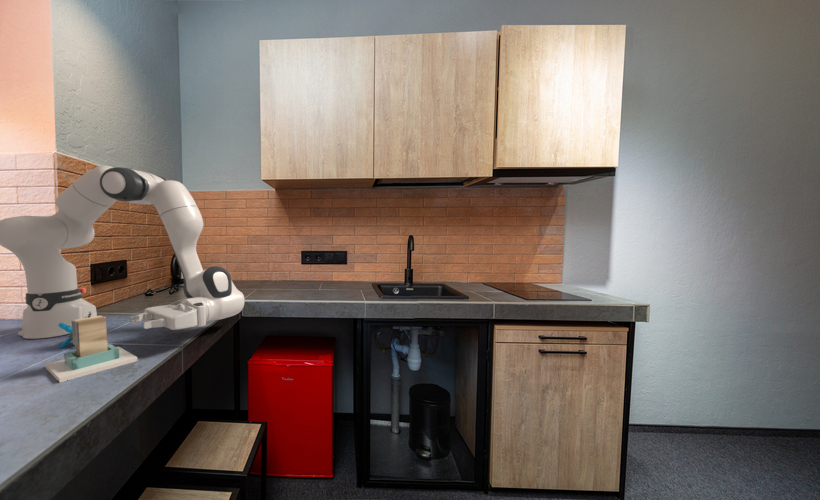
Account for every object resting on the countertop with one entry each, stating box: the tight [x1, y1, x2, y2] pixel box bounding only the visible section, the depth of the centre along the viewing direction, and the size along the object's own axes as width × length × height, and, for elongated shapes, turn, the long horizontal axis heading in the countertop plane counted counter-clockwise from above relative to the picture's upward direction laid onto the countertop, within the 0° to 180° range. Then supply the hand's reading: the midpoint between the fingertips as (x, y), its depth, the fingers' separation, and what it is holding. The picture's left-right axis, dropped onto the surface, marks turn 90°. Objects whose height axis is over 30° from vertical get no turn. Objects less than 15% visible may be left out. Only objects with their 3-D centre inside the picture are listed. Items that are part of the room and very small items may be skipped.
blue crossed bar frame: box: [58, 323, 73, 349], centre depth 93 cm, size 11×6×10 cm
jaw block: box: [71, 315, 108, 358], centre depth 80 cm, size 4×6×11 cm
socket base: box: [44, 342, 139, 384], centre depth 80 cm, size 14×14×4 cm
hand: (136, 322), depth 88 cm, fingers open, 8 cm apart
